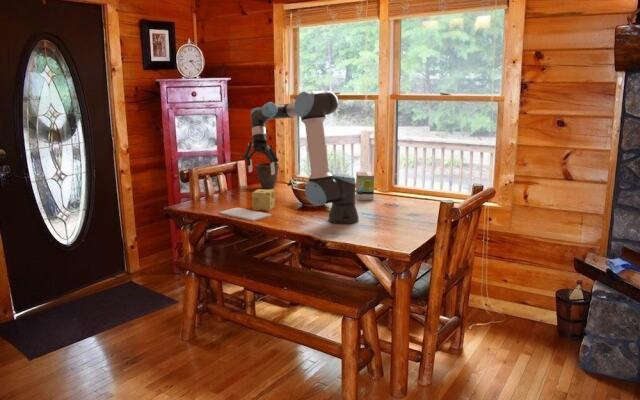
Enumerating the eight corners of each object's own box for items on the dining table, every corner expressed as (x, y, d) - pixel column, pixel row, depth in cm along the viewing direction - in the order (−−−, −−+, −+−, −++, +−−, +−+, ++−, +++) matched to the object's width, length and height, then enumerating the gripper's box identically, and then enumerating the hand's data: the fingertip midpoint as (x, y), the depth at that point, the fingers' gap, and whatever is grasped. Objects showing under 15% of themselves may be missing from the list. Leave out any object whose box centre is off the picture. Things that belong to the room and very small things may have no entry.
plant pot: (251, 189, 338) (250, 164, 334) (268, 185, 349) (267, 161, 346) (267, 192, 329) (266, 167, 325) (284, 188, 340) (283, 164, 336)
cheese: (270, 211, 281) (269, 193, 279) (251, 210, 283) (250, 192, 281) (275, 206, 291) (275, 189, 289) (257, 205, 293) (256, 188, 291)
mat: (271, 215, 271) (271, 214, 271) (253, 221, 261) (253, 219, 261) (237, 208, 287) (237, 207, 286) (219, 213, 277) (219, 212, 276)
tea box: (374, 200, 305) (374, 175, 301) (357, 200, 305) (357, 175, 301) (372, 194, 319) (372, 170, 316) (355, 194, 319) (355, 171, 316)
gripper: (275, 141, 291) (278, 177, 286) (235, 135, 277) (237, 172, 271) (282, 136, 286) (285, 173, 280) (241, 129, 271) (244, 168, 266)
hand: (262, 172), depth 276 cm, fingers open, 13 cm apart
